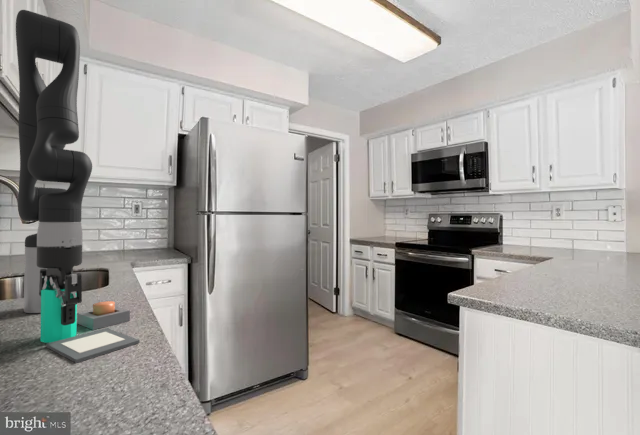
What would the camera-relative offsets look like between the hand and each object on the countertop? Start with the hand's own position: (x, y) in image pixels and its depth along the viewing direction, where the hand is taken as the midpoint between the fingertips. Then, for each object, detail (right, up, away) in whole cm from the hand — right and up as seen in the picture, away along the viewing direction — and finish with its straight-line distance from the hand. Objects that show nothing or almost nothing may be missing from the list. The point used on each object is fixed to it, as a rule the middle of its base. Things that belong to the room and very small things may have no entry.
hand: (59, 320), depth 68 cm
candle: (0, -4, 0) cm, 4 cm away
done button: (+3, -2, +10) cm, 11 cm away
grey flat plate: (+10, -4, -4) cm, 11 cm away
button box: (+3, -4, +10) cm, 11 cm away
